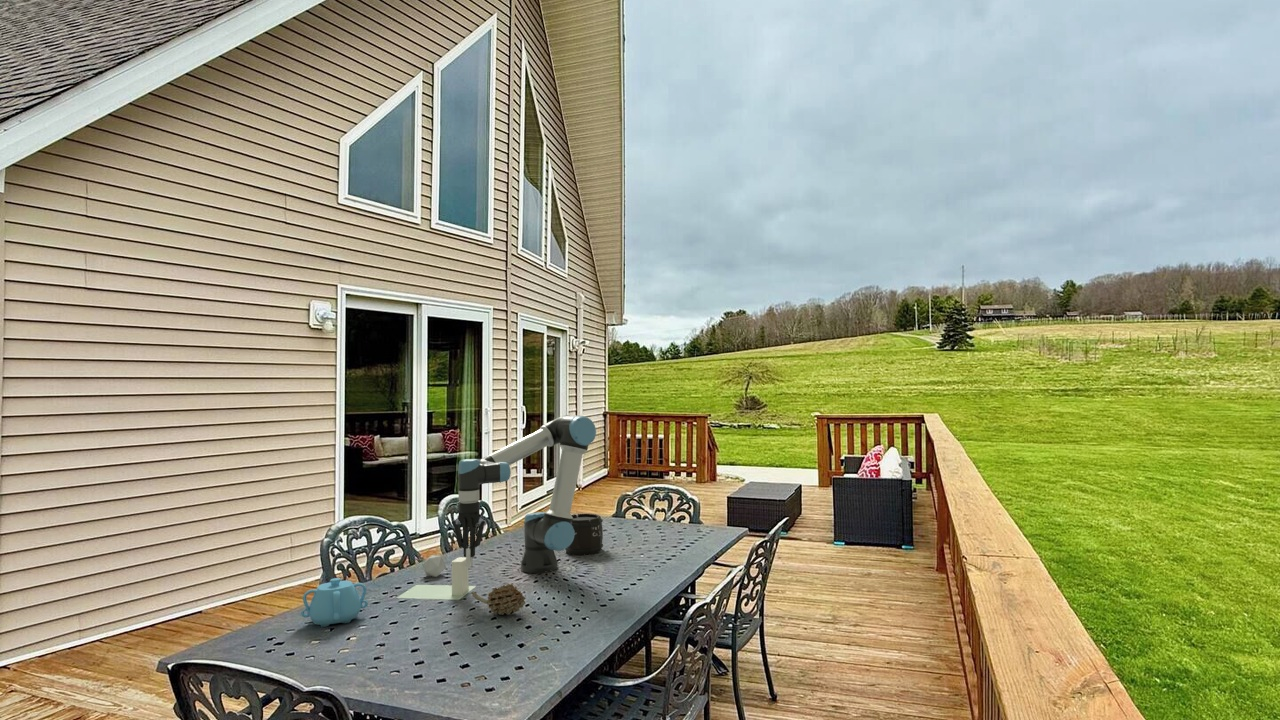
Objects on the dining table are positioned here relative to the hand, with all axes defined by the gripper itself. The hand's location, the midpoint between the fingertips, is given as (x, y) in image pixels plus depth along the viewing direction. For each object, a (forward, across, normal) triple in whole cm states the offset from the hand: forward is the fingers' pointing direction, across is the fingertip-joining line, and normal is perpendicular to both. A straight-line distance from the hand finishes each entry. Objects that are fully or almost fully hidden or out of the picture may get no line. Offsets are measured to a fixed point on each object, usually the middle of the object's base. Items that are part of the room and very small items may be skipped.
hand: (469, 565), depth 245 cm
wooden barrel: (+10, -29, -63) cm, 70 cm away
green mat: (+10, +13, 0) cm, 16 cm away
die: (+10, +23, -21) cm, 33 cm away
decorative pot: (+11, +34, +30) cm, 47 cm away
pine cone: (+10, -17, +20) cm, 28 cm away
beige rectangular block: (+10, +4, 0) cm, 10 cm away
